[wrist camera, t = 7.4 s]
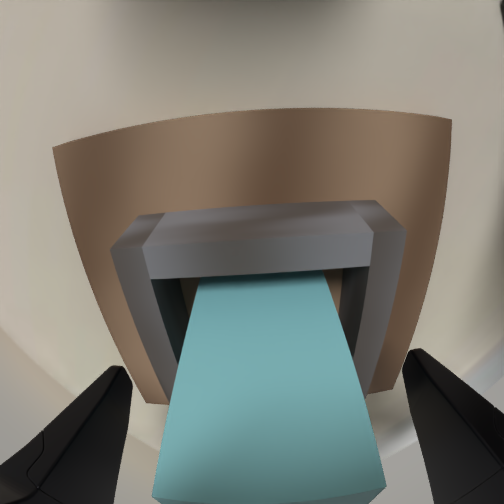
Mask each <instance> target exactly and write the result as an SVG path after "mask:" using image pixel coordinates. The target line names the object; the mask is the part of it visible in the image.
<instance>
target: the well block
mask: <svg viewBox="0 0 504 504" xmlns="http://www.w3.org/2000/svg"><path fill="white" fill-rule="evenodd" d="M451 129H452V120H451V119H447V118H442V117H436V116H429V115H422V114H414V113H404V112H394V111H382V110H368V109H347V108H284V109H262V110H247V111H235V112H224V113H215V114H206V115H198V116H190V117H183V118H177V119H170V120H164V121H158V122H152V123H147V124H142V125H137V126H132V127H127V128H122V129H118V130H113V131H109V132H105V133H101V134H96V135H93V136H89V137H85V138H81V139H77V140H74V141H70V142H67V143H64V144H61V145H58V146H55V147H52V148H53V154H54V159H55V164H56V169H57V174H58V178H59V183H60V187H61V191H62V195H63V199H64V203H65V207H66V211H67V215H68V218H69V222H70V225H71V229H72V232H73V235H74V238H75V242H76V245H77V248H78V251H79V254H80V257H81V260H82V263H83V266H84V269H85V272H86V274H87V277H88V280H89V282H90V285H91V288H92V290H93V293H94V295H95V298H96V301H97V303H98V305H99V308H100V310H101V313H102V315H103V317H104V320H105V322H106V324H107V327H108V329H109V331H110V333H111V336H112V338H113V340H114V342H115V344H116V346H117V348H118V350H119V353H120V355H121V357H122V359H123V361H124V363H125V365H126V367H127V369H128V371H129V372H130V374H131V376H132V378H133V380H134V382H135V384H136V386H137V388H138V389H139V391H140V393H141V395H142V397H143V398H144V400H145V402H146V403H152V404H165V405H170V400H171V396H172V391H173V387H174V382H175V378H176V374H177V369H178V365H179V361H180V357H181V352H182V348H183V344H184V340H185V336H186V332H187V328H188V324H189V320H190V316H191V312H192V308H193V304H194V300H195V296H196V292H197V289H198V285H199V281H200V277H210V276H228V275H246V274H262V273H278V272H294V271H308V270H322V271H323V273H324V276H325V279H326V282H327V285H328V287H329V290H330V293H331V296H332V299H333V302H334V305H335V308H336V311H337V313H338V316H339V319H340V322H341V325H342V328H343V331H344V335H345V338H346V341H347V344H348V347H349V350H350V353H351V356H352V360H353V363H354V366H355V369H356V373H357V376H358V379H359V383H360V386H361V390H362V393H363V396H364V400H365V398H366V395H367V394H371V393H376V392H382V391H387V390H392V389H393V387H394V384H395V382H396V379H397V377H398V375H399V372H400V370H401V367H402V364H403V362H404V359H405V357H406V354H407V351H408V348H409V346H410V343H411V340H412V337H413V334H414V331H415V328H416V325H417V322H418V319H419V315H420V312H421V309H422V305H423V302H424V298H425V295H426V291H427V287H428V284H429V280H430V276H431V272H432V268H433V263H434V259H435V254H436V250H437V245H438V240H439V235H440V229H441V224H442V218H443V212H444V205H445V198H446V190H447V182H448V173H449V162H450V149H451Z"/></svg>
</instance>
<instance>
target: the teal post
mask: <svg viewBox="0 0 504 504" xmlns="http://www.w3.org/2000/svg"><path fill="white" fill-rule="evenodd" d="M385 487H386V481H385V477H384V473H383V468H382V464H381V460H380V456H379V452H378V448H377V444H376V440H375V436H374V433H373V429H372V425H371V421H370V418H369V414H368V411H367V407H366V403H365V400H364V396H363V393H362V390H361V386H360V383H359V379H358V376H357V373H356V369H355V366H354V363H353V360H352V356H351V353H350V350H349V347H348V344H347V341H346V338H345V335H344V331H343V328H342V325H341V322H340V319H339V316H338V313H337V311H336V308H335V305H334V302H333V299H332V296H331V293H330V290H329V287H328V285H327V282H326V279H325V276H324V273H323V271H322V270H308V271H294V272H278V273H262V274H246V275H228V276H210V277H200V281H199V285H198V289H197V292H196V296H195V300H194V304H193V308H192V312H191V316H190V320H189V324H188V328H187V332H186V336H185V340H184V344H183V348H182V352H181V357H180V361H179V365H178V369H177V374H176V378H175V382H174V387H173V391H172V396H171V400H170V405H169V410H168V414H167V419H166V424H165V429H164V434H163V438H162V443H161V449H160V455H159V459H158V464H157V469H156V475H155V480H154V486H153V492H152V497H153V498H154V499H156V500H157V501H158V502H160V503H161V504H368V503H370V502H371V501H372V500H373V499H374V498H375V497H376V496H377V495H378V494H379V493H380V492H381V491H382V490H383V489H384V488H385Z"/></svg>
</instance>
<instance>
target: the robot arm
mask: <svg viewBox="0 0 504 504" xmlns="http://www.w3.org/2000/svg"><path fill="white" fill-rule="evenodd" d="M402 374H403V378H404V383H405V388H406V393H407V398H408V403H409V408H410V413H411V416H412V420H413V423H414V426H415V430H416V433H417V437H418V440H419V444H420V447H421V451H422V455H423V458H424V462H425V466H426V470H427V474H428V478H429V482H430V487H431V491H432V496H433V501H434V504H504V414H503V413H502V412H501V411H500V410H498V409H497V408H496V407H495V408H494V406H493V405H492V404H491V403H490V402H489V401H487V400H486V399H485V398H484V397H482V396H481V395H480V394H479V393H477V392H476V391H475V390H474V389H472V388H471V387H470V386H469V385H467V384H466V383H465V382H464V381H462V380H461V379H460V378H459V377H457V376H456V375H455V374H454V373H452V372H451V371H450V370H449V369H447V368H446V367H445V366H443V365H442V364H441V363H440V362H438V361H437V360H436V359H434V358H433V357H432V356H431V355H429V354H428V353H427V352H425V351H424V350H423V349H421V348H418V349H413V350H410V351H409V352H408V354H407V357H406V359H405V362H404V364H403V368H402ZM132 390H133V385H132V381H131V379H130V377H129V375H128V374H127V372H126V370H125V368H124V367H123V366H115V365H113V366H110V367H109V368H108V369H107V370H106V371H105V372H104V373H103V374H102V375H101V376H99V377H98V378H97V379H96V380H95V381H94V382H93V383H92V384H91V385H90V386H89V387H88V388H87V389H86V390H84V391H83V392H82V393H81V394H80V395H79V396H78V397H77V398H76V399H75V400H74V401H73V402H72V403H71V404H70V405H69V406H68V407H66V408H65V409H64V410H63V411H62V412H61V413H60V414H59V415H58V416H57V417H56V418H55V419H54V420H53V421H52V422H51V423H49V424H48V425H47V426H46V427H45V428H44V430H42V431H41V432H40V433H39V434H38V435H37V436H36V437H35V438H33V439H32V440H31V441H30V442H29V443H28V444H27V445H26V446H24V447H23V448H22V449H21V450H19V451H18V452H17V453H16V454H14V455H13V456H12V457H10V458H9V459H8V460H6V461H5V462H4V463H3V464H2V465H0V504H113V503H114V497H115V491H116V485H117V480H118V474H119V469H120V464H121V459H122V453H123V449H124V444H125V440H126V435H127V430H128V424H129V415H130V406H131V398H132Z"/></svg>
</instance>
